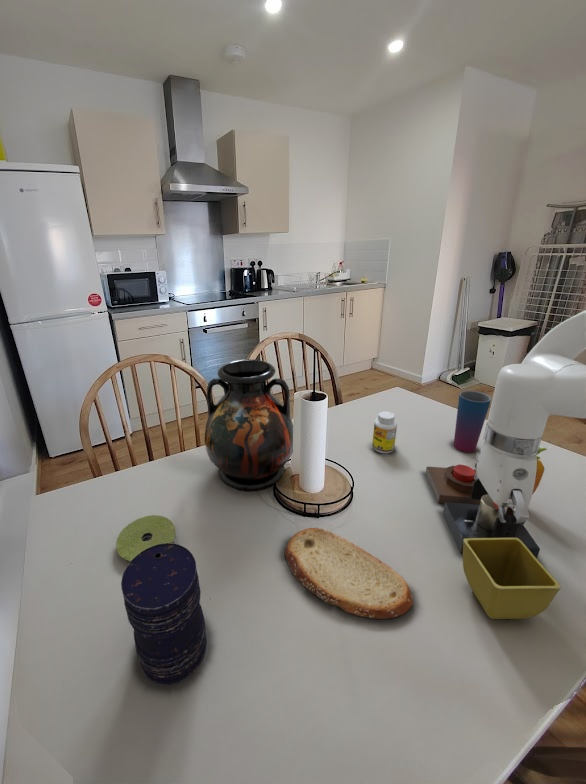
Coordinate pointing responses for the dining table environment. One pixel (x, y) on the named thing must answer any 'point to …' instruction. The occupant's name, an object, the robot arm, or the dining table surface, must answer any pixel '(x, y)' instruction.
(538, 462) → the carrot
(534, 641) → the dining table surface
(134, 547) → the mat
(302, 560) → the bread slice
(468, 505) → the control panel
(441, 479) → the button block
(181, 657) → the navy ridged drum
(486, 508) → the dial
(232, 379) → the amphora vase
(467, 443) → the cup
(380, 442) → the supplement bottle
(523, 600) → the flower pot
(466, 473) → the button
